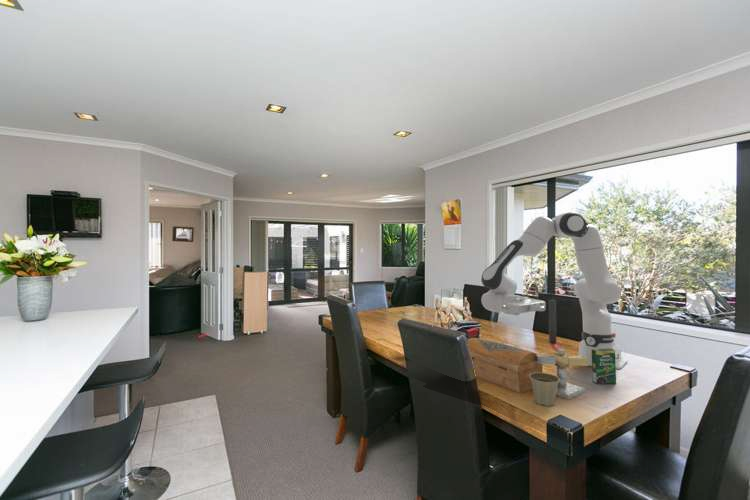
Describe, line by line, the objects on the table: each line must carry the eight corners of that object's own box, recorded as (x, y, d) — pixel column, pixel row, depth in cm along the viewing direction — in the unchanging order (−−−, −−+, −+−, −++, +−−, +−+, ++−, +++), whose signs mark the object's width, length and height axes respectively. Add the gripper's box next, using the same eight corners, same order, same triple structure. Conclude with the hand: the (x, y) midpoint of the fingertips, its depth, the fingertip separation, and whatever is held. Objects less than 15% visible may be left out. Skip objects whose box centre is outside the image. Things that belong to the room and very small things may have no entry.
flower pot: (551, 411, 114) (550, 384, 114) (523, 401, 121) (523, 376, 121) (565, 403, 119) (565, 378, 119) (538, 394, 127) (538, 370, 127)
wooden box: (545, 385, 136) (544, 349, 136) (518, 395, 127) (518, 356, 127) (483, 364, 161) (483, 334, 162) (457, 371, 153) (457, 339, 153)
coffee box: (596, 384, 136) (595, 350, 136) (591, 381, 139) (590, 348, 139) (616, 384, 136) (616, 350, 136) (611, 381, 139) (611, 348, 139)
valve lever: (566, 355, 129) (565, 305, 129) (558, 355, 129) (557, 304, 129) (555, 345, 142) (554, 300, 142) (548, 345, 143) (547, 299, 143)
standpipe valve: (554, 381, 140) (553, 348, 140) (591, 392, 128) (590, 356, 128) (533, 388, 132) (532, 353, 132) (570, 401, 121) (570, 363, 121)
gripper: (498, 299, 150) (527, 303, 139) (527, 296, 161) (556, 299, 150) (498, 314, 150) (528, 319, 139) (527, 309, 161) (557, 314, 150)
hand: (543, 308), depth 144 cm, fingers closed
